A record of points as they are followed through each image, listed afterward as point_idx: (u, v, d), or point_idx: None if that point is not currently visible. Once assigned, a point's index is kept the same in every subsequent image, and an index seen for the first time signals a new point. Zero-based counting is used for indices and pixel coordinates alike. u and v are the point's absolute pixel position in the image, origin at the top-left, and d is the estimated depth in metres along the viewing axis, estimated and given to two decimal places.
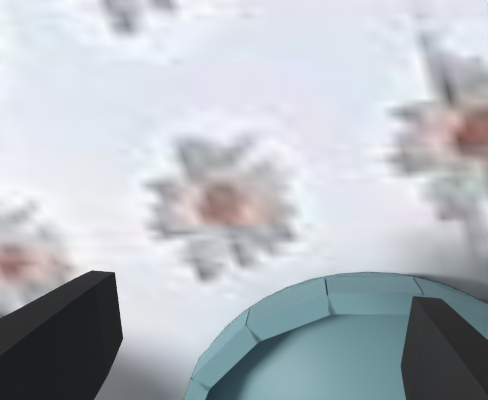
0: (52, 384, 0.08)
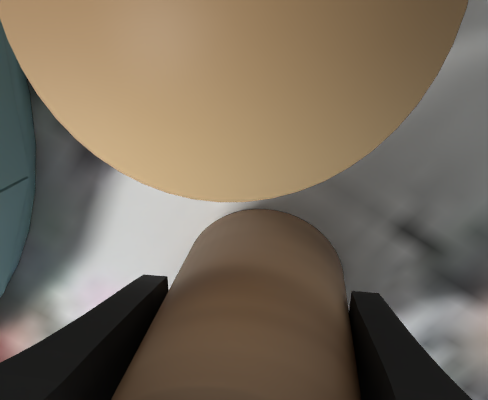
0: None
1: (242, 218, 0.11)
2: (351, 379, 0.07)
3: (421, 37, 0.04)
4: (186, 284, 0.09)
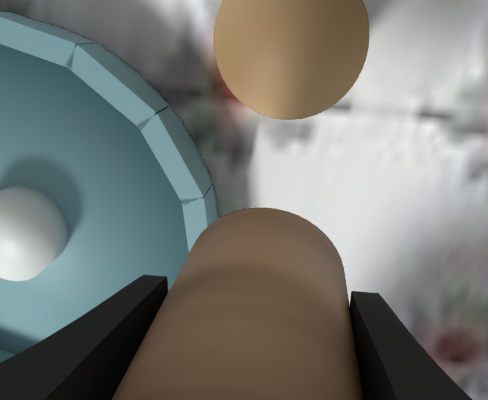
0: None
1: (243, 217, 0.11)
2: (353, 377, 0.07)
3: (358, 28, 0.12)
4: (187, 282, 0.09)
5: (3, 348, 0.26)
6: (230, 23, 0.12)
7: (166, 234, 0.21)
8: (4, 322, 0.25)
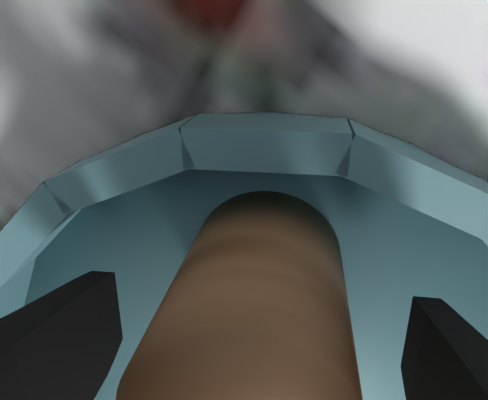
0: (52, 384, 0.08)
1: (249, 198, 0.12)
2: (346, 330, 0.08)
3: None
4: (200, 252, 0.10)
5: None
6: None
7: (385, 238, 0.12)
8: None
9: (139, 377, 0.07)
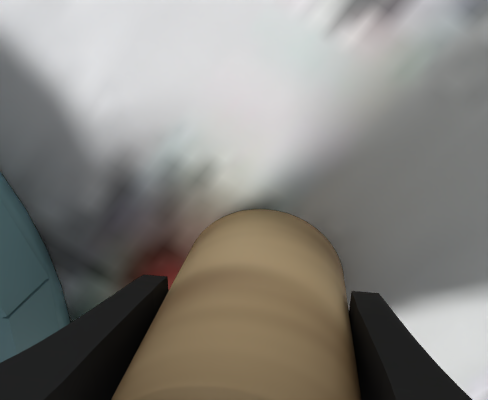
0: None
1: None
2: None
3: None
4: None
5: None
6: None
7: None
8: None
9: None
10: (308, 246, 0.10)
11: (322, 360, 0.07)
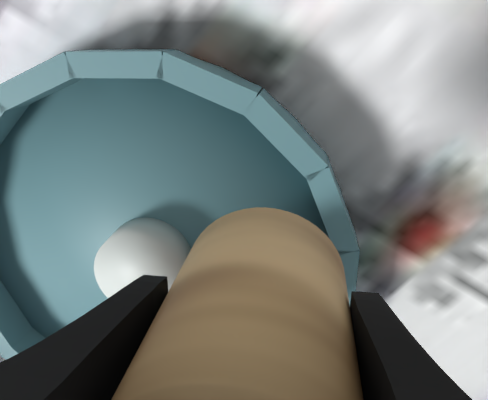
0: None
1: None
2: None
3: None
4: None
5: None
6: None
7: None
8: (67, 320, 0.24)
9: None
10: (309, 244, 0.10)
11: (324, 358, 0.07)
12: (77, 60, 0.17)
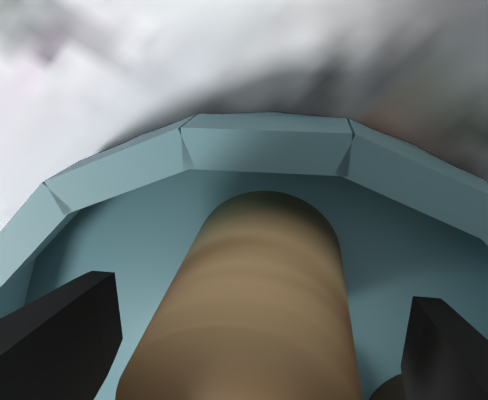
0: (52, 384, 0.08)
1: None
2: None
3: None
4: None
5: None
6: (160, 366, 0.07)
7: None
8: None
9: None
10: (308, 222, 0.11)
11: (320, 311, 0.08)
12: (200, 143, 0.10)
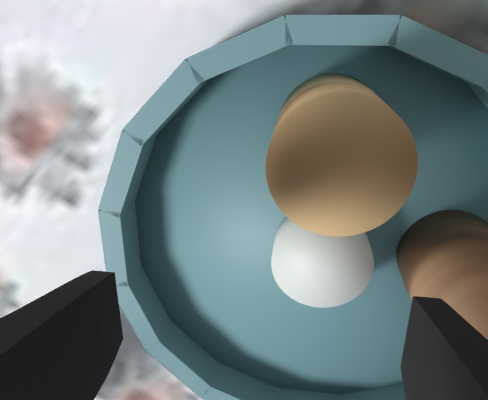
0: (52, 384, 0.08)
1: None
2: None
3: (402, 189, 0.13)
4: None
5: (189, 334, 0.23)
6: (298, 127, 0.12)
7: None
8: (212, 313, 0.23)
9: None
10: (366, 85, 0.16)
11: None
12: (298, 25, 0.15)
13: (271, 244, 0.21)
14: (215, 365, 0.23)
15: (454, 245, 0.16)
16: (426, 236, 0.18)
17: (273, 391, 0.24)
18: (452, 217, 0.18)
